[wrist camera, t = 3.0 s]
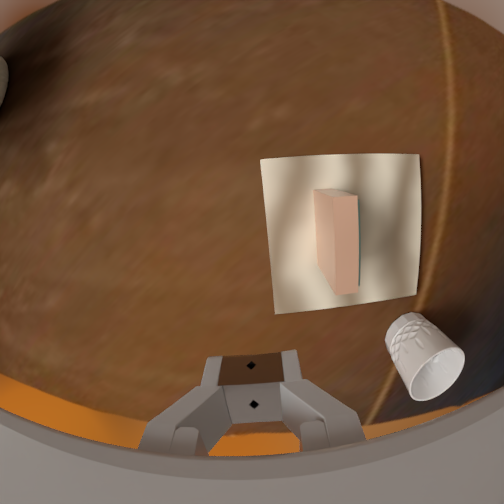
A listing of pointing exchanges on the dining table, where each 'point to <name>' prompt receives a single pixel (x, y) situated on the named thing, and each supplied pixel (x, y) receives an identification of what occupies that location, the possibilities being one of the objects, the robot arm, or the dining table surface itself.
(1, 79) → the canister
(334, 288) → the block
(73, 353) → the dining table surface
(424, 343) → the white cup
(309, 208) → the board
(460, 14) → the dining table surface
